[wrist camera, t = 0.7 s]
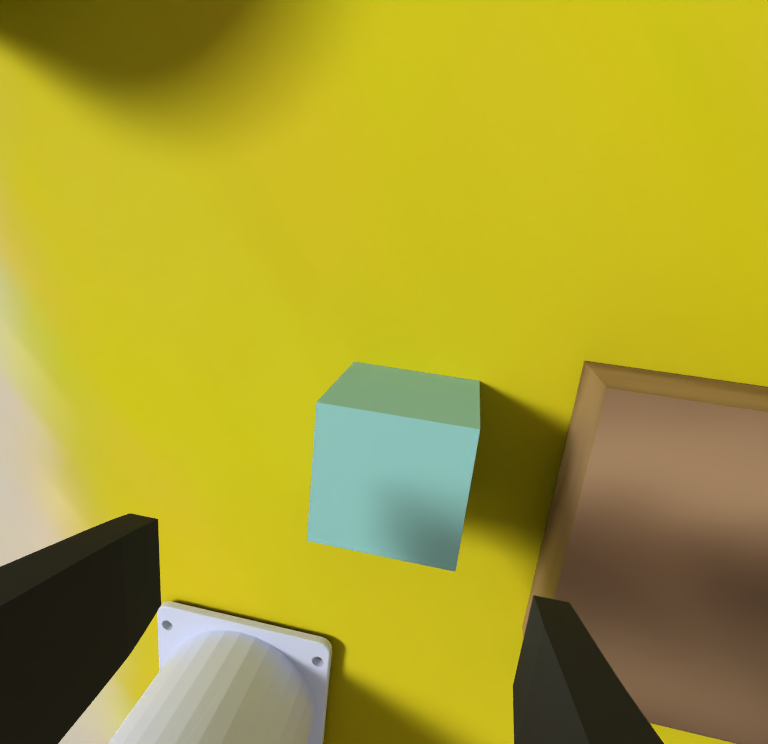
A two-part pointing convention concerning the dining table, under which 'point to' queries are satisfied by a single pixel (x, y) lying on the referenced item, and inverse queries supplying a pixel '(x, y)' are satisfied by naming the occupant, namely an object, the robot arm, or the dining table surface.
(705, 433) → the walnut base
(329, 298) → the dining table surface
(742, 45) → the dining table surface
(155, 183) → the dining table surface
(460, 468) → the teal cube
